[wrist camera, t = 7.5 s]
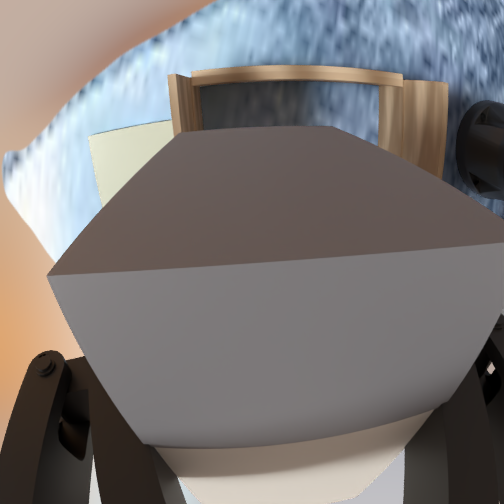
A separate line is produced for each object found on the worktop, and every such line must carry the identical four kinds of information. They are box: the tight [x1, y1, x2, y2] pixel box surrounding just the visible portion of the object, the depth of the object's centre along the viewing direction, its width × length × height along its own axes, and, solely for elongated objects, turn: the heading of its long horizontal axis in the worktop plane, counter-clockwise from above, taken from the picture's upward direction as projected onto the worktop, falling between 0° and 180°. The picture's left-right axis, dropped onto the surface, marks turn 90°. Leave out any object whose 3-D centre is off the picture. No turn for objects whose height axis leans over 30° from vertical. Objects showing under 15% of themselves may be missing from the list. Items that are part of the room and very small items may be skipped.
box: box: [47, 126, 504, 504], centre depth 10 cm, size 6×12×10 cm, turn 2°
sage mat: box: [88, 120, 174, 208], centre depth 35 cm, size 11×16×1 cm
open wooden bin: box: [168, 65, 448, 180], centre depth 29 cm, size 23×18×13 cm
